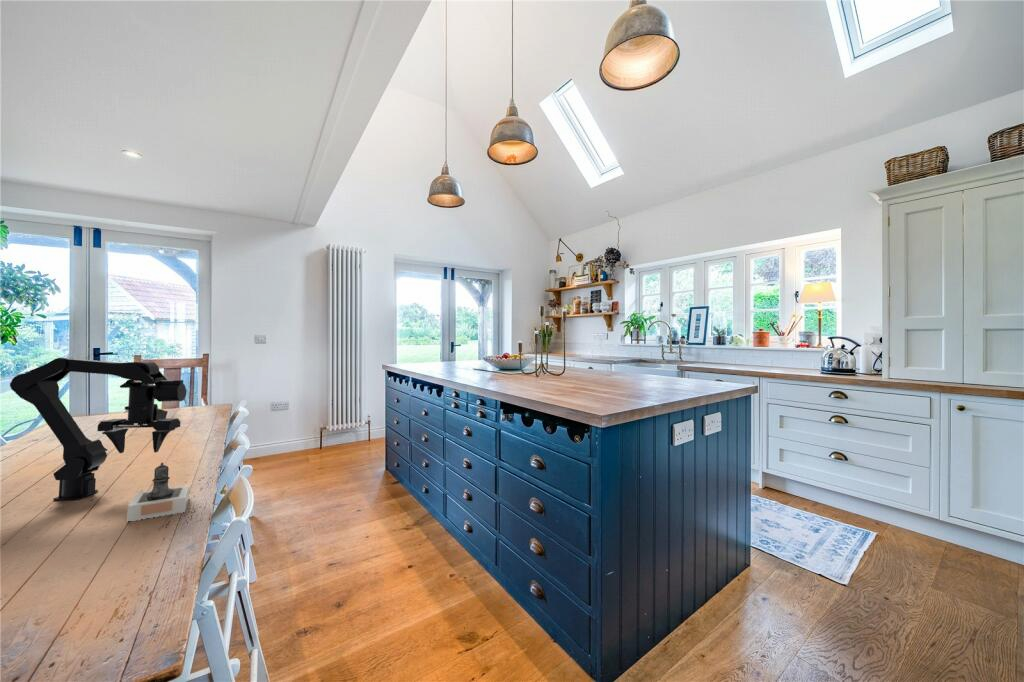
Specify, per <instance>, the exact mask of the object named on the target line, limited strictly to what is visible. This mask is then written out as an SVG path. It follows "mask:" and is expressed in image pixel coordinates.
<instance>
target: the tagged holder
mask: <svg viewBox="0 0 1024 682" xmlns="http://www.w3.org/2000/svg"><path fill="white" fill-rule="evenodd" d="M169 489H173V490H174V492H173V495H172V497H171V498H168V499H162V500H155V501H149V502H148V500H147V497H146V494H148V493H150V492H152V490H147V491H140V492H136V494H135V495H134V496H133V498H132V499H131V500H130V502H129V504H128V505H127V511H126V512H127V516H126V523H129V522H128V521H132V522H137V521H141V519H143V520H147V519H146V518H149V519H154V518H153V517H155V518H160V517H159V516H161V517H166V516H171V514H172V515H177V513H178V514H183V512H184V513H185V512H186V509H187V506H188V503H189V499H190V485H189V484H188V485H181V486H174V487H169ZM165 515H166V516H165ZM136 520H137V521H136Z"/></svg>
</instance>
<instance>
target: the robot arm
mask: <svg viewBox="0 0 1024 682" xmlns="http://www.w3.org/2000/svg"><path fill="white" fill-rule="evenodd" d="M70 373H85V374H98V375H101V374H102V375H110V376H116V377H119V378H121V379H125V380H126V381H125V382H123V384H120V385H119V387H120V388H122V389H127V388H128V404H127V406H124V410H125V411H127V419H126V418H111V419H106V420H101V421H99V423H98V425H97V432H101V434H102V435H106V437H107V438H108V439H109V440H110V441H111V443H112V444H113V446H114V447H115V449H116V450H117V451H118V453H119V454H123V453H124V452H125V448H126V434H127V432H128V430H129V428H131V429H133V428H134V429H136V428H139V429H140V428H142V429H143V428H152V429H153V430H154V431H152V432H151V434H152V436H151V437H152V447H153V448H152V449H153V452H154V454H155V453H158V452H159V450H160V449H161V447H162V445H163V442H164V440H165V439H166V437H167V436H168V434H169V433H170V432H172V431H175V430H176V429H178V428H180V427H181V420H180V419H179V418H177V417H176V418H174V417H173V418H170V417H169V418H167V416H168V410H164V409H160V408H159V407H158V406H159V405H158V403H159V402H160V403H162V402H166V403H167V402H183V401H184V400H185V399H186V396H187V393H188V392H187V391H188V390H187V389H186V385H185V383H184V379H176V380H175V379H174V380H168V379H167V378H166V376H165V375H164V374H163V373H162V372H161V371H160V368H159V365H158V364H157V363H156V362H154V361H149V360H148V361H135V362H134V361H132V362H117V361H116V362H115V361H105V360H94V359H84V358H83V359H81V358H74V357H56V358H54V359H52V360H51V361H48V362H47V363H45V364H43V365H40V366H38V367H36V368H34V369H30V370H29V371H27V372H25V373H20V374H18V375H16V376H14V377H13V378H12V380H11V381H10V382H9V387H10V389H11V390H12V392H14V393H15V395H17V396H18V397H19V398H20V399H22V400H23V401H25V402H28V403H30V404H31V405H33V406H34V408H35V409H36V410H37V411H38V413H39V414H40V416H41V418H42V419H43V420H44V421H45V423H46V425H48V427H49V428H50V430H51V431H52V433H53V434H54V436H55V437H56V439H57V440H58V442H59V443H60V444H61V446H62V448H63V450H62V459H63V462H64V465H62V466H61V467H60V468H59V469H58V470H56V471H55V472H53V477H54V479H55V480H56V481H59V485H58V486H59V487H58V496H56V497H53V498H52V500H53V501H70V500H71V501H73V500H82V499H84V498H86V497H88V496H90V495H93V494H96V493H98V492H99V490H98V489H96V482H97V481H96V480H97V479H96V478H95V472H96V471H98V470H99V468H100V467H101V465H103V463H105V461H106V460H107V457H108V454H107V451H108V449H107V448H106V447H105V446H104V445H103V442H102V441H101V440H100V439H96V440H91V439H90V438H87V436H86V435H85V434H84V432H83V431H82V429H81V428H80V426H79V425H78V423H77V422H76V421H75V419H74V418H73V416H72V415H71V413H70V412H69V411H68V409H67V407H66V406H65V404H64V403H63V402H62V400H61V399H60V397H59V395H60V394H59V393H60V387H59V383H58V382H60V381H62V380H63V379H64V378H65V377H67V376H68V375H69V374H70ZM155 400H156V401H157V402H158V403H155ZM95 492H96V493H95Z"/></svg>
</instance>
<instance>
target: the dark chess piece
mask: <svg viewBox="0 0 1024 682" xmlns="http://www.w3.org/2000/svg"><path fill="white" fill-rule="evenodd" d="M169 470H170V469H169V466H167V465H165V464H164V462H161V463H160V465H158V466H156V467H155V469H154V475H153V477H154V478H153V479H152V480H151V481H152V482H153V485H152V490H151V491H152V492H150V493H148V494H146V497H147V500H148V502H149V501H155V500H162V499H168V498H171V497H172V495H173V492H174V490H173V489H169V488H170V487H169V480H170V478H171V477H170V476H169Z"/></svg>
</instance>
